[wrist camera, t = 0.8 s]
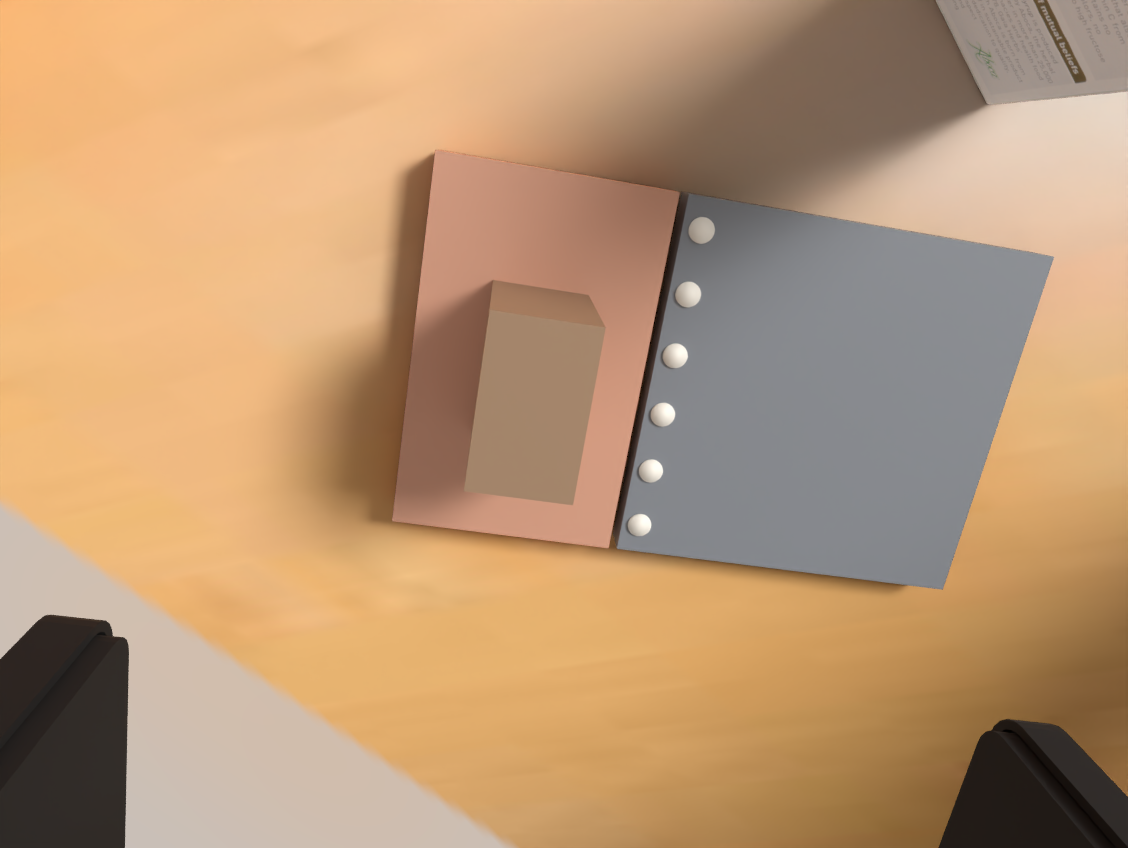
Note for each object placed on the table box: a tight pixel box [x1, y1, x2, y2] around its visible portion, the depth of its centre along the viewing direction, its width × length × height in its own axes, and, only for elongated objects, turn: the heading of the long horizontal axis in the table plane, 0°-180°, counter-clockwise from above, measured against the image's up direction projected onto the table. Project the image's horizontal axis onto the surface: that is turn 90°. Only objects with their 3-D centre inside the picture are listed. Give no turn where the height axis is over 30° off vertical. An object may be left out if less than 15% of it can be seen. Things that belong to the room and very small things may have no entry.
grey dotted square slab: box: [613, 192, 1054, 590], centre depth 29 cm, size 12×12×1 cm
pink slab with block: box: [392, 150, 680, 548], centre depth 26 cm, size 7×12×6 cm, turn 171°
